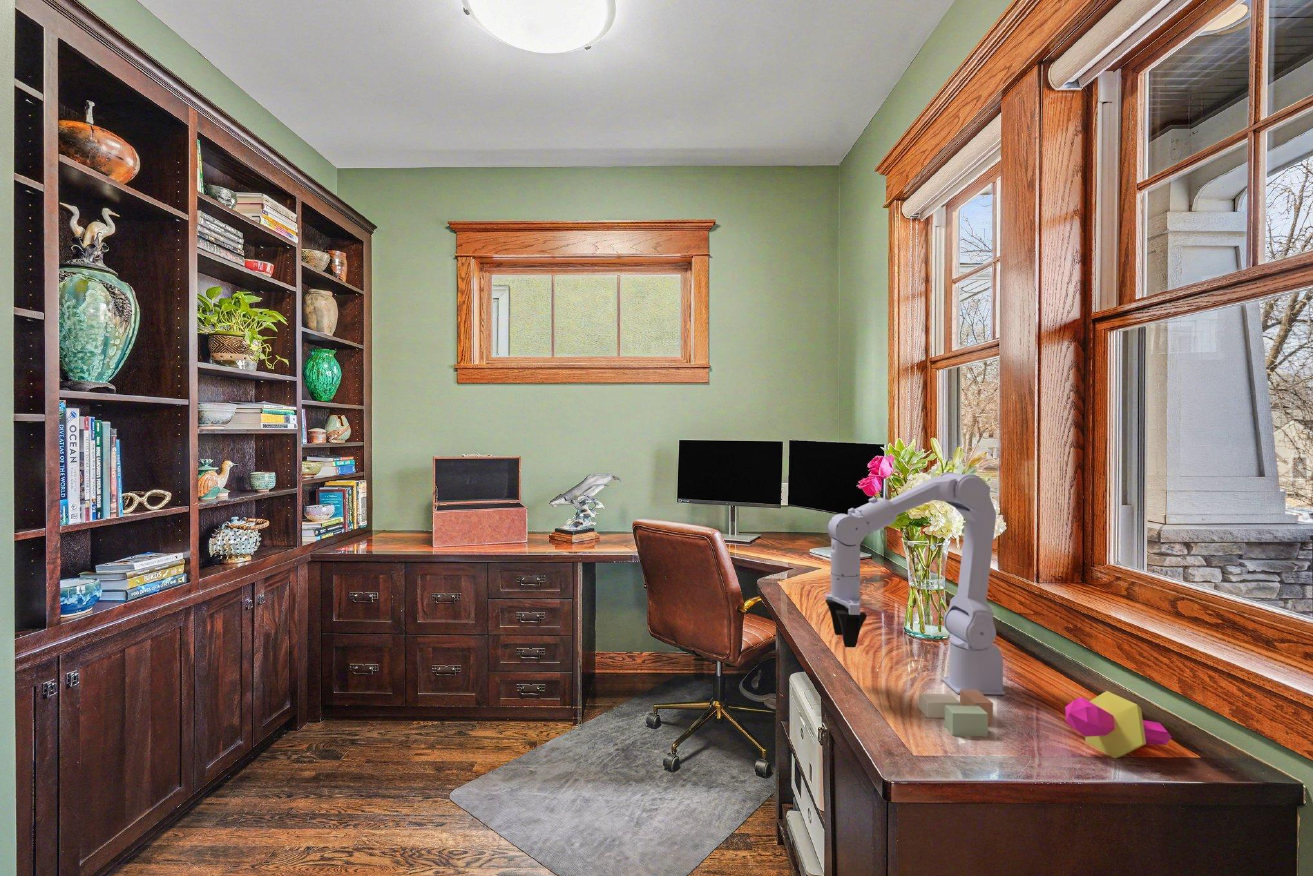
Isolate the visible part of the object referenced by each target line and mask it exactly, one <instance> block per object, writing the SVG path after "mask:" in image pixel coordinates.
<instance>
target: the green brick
mask: <svg viewBox="0 0 1313 876" xmlns="http://www.w3.org/2000/svg"><path fill="white" fill-rule="evenodd" d="M944 728H945V730H947V731H948V733H949V734H951V736H954V737H955V736H957V737H988V736H989V735H988V734H989V725H988V713H986V712H985V711H984V710H983V709H982V708H981V707H980V706H951V705H945V718H944Z"/></svg>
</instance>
